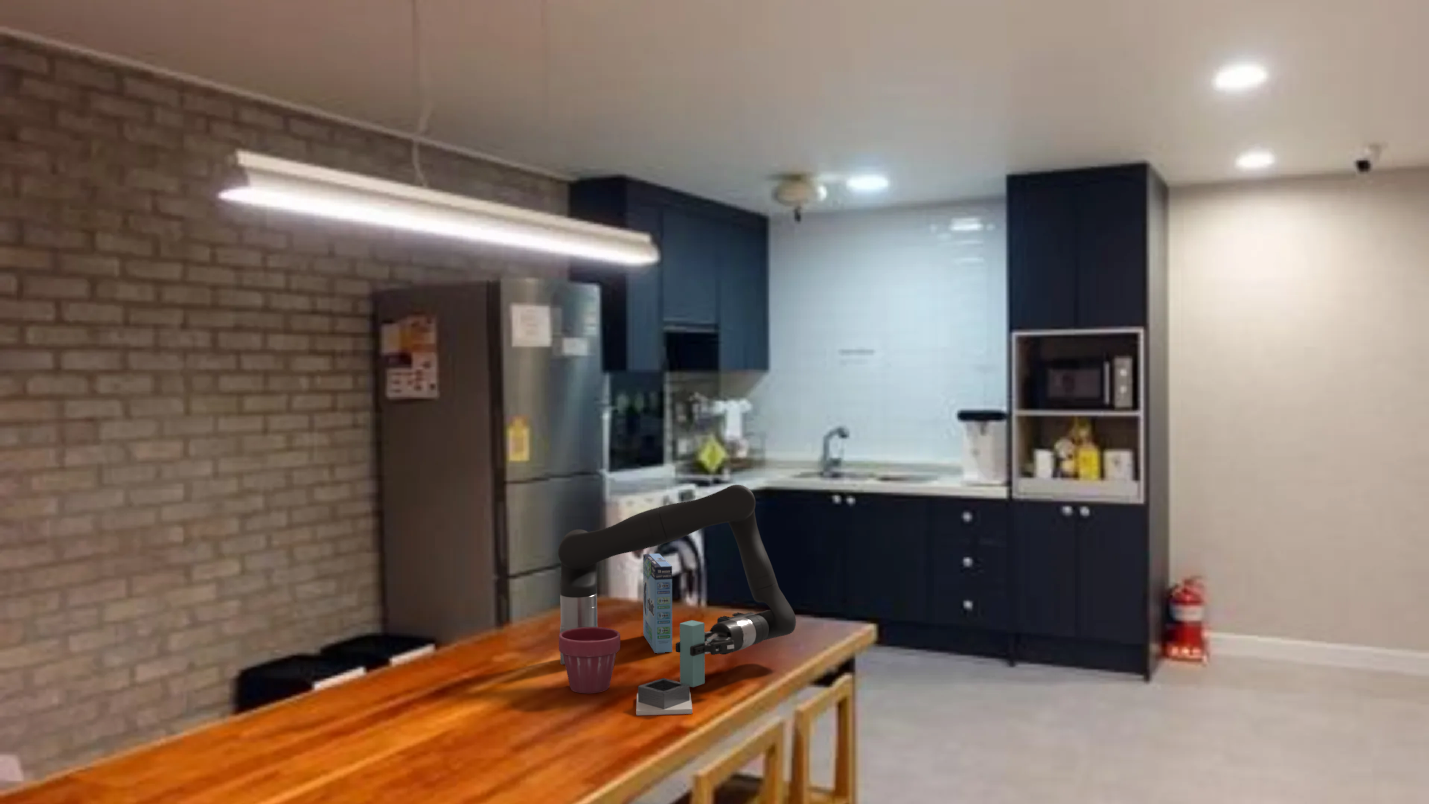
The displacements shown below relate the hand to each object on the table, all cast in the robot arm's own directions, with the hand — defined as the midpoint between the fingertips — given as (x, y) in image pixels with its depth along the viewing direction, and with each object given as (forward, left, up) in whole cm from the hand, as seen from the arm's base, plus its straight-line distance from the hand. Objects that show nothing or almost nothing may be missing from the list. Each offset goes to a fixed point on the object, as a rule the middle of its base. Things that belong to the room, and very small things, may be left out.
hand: (684, 649), depth 243 cm
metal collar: (-5, -8, -10) cm, 14 cm away
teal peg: (+2, +2, -8) cm, 9 cm away
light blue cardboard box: (-6, +45, -10) cm, 46 cm away
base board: (-5, -8, -10) cm, 14 cm away
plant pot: (-22, +7, -10) cm, 25 cm away
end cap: (+16, +48, -11) cm, 52 cm away
